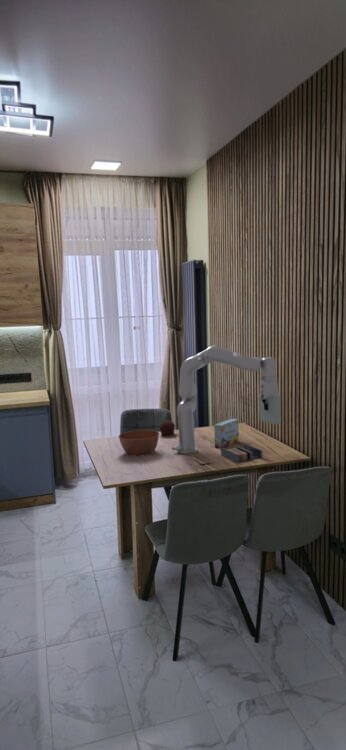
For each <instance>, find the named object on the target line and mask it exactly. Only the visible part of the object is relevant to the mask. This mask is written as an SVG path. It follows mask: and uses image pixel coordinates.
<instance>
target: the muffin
mask: <svg viewBox="0 0 346 750" xmlns="http://www.w3.org/2000/svg"><path fill="white" fill-rule="evenodd" d="M175 428H176V425H175V423H174V422H173V421H171V420H164V421H162V422H161V423H160V424H159V429H160V434H161V437H164V436H165V437H167V436H168V437H173V436H174V435H175ZM172 435H173V436H172Z"/></svg>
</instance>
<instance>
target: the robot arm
mask: <svg viewBox="0 0 346 750" xmlns="http://www.w3.org/2000/svg"><path fill="white" fill-rule="evenodd" d="M212 362H215V363H220V364H224V365H226V366H227V365H228V366H231V367H234V368H238V369H240V370H244V371H249V372H258V371H259V370H261V377H260V381H261V383H260V391H259V395H260V397H259V396H258V401H259V400H261V401H262V402H263V403H264V410H267V411H268V404H267V401H268V399H269V397H279V398H281V397H280V396H281V395H280V393H279V391H280V390H279V385H278V380H276V359H275V358H274V357H272V356H271V357H270V356H267V357H260V356H254V357H248V356H244V355H241V354H239V353H238V352H237V351H234V350H230V349H225V348H222V347H219V346H217V345H213V344H212V345H211V346H209V347H208V348H206V349H205V350H203V351H201V352H198V353H197V354H195V355H192V356H190V357H188V358H186V359H185V360H184V361H183V362H182V364H181V366H180V369H179V370H180V371H179V386H178V394H179V396H180V398H181V401H180V402H179V403H178V404H177V407H176V414H177V416H176V417H177V423H178V427H177V428H178V444H177V445H176V446H172V447H171V448H172V451H174V450H175V451H176V452H177V453H179V454H182V455H183V454H186V455H191V454H194V453H197V452H198V448H197V447H196V443H195V442H196V440H195V422H194V421H195V420H194V413H193V412H195V410H196V408H197V400H198V399H197V398H198V396H197V395H198V388H197V384H196V383H195V382H194V379H195V371H197V370H199V369H201V368H204V367H206V365H207V366H208V365H209V364H210V363H212ZM262 398H263V399H262Z"/></svg>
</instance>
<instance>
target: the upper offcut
mask: <svg viewBox="0 0 346 750" xmlns="http://www.w3.org/2000/svg"><path fill="white" fill-rule="evenodd" d="M226 449H227V450H229V451H232V452H234V453H236V454H238V455H239V458H243V457H247V453H245V452H243V451H240V450H238V449H236V448H234V447H233V448H226Z"/></svg>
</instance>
